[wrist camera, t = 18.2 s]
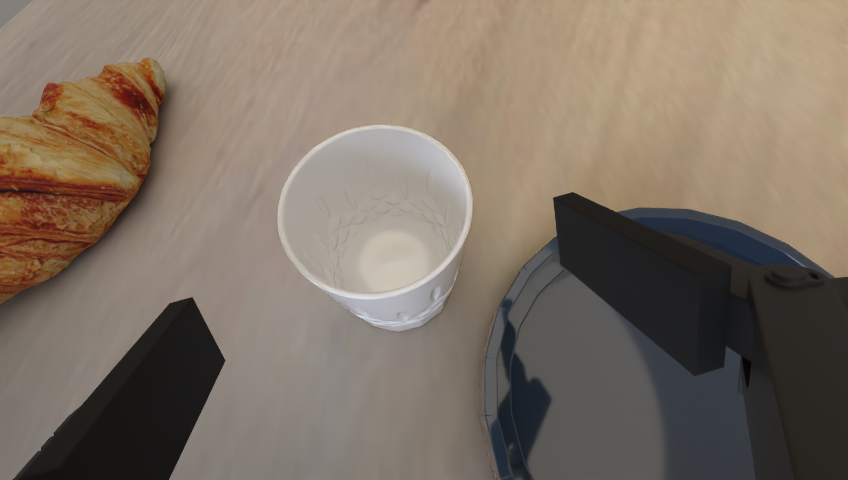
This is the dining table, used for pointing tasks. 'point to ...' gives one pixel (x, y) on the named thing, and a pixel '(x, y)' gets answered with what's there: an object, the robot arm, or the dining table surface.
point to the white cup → (378, 222)
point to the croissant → (73, 168)
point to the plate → (611, 376)
